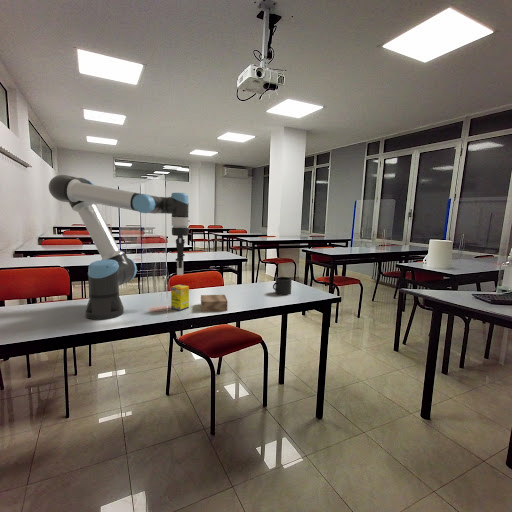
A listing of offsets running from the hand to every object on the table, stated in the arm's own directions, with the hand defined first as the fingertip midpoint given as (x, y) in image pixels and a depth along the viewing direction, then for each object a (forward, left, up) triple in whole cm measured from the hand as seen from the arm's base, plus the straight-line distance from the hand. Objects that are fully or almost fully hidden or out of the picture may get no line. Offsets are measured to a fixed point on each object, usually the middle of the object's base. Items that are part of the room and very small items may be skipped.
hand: (180, 272), depth 141 cm
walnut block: (+16, 0, -18) cm, 24 cm away
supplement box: (0, 0, -18) cm, 18 cm away
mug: (+58, +22, -18) cm, 64 cm away
